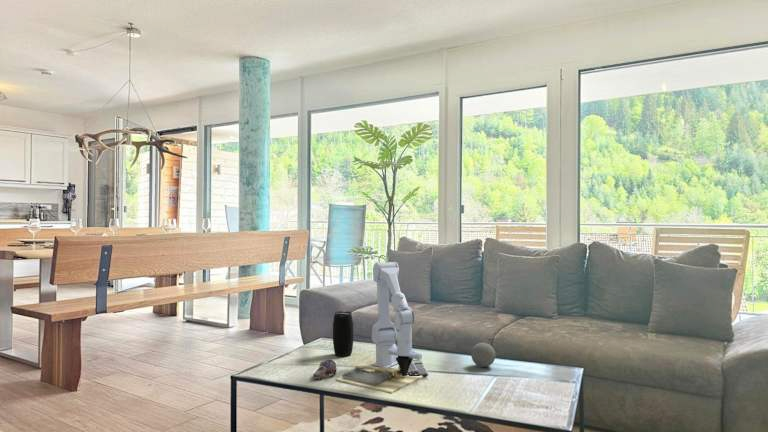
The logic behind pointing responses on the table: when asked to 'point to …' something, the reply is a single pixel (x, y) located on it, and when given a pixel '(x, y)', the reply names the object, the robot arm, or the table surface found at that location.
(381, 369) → the loose leaf
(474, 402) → the table surface
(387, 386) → the board
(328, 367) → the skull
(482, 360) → the decorative ball
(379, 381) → the fixed leaf
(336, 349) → the portable speaker
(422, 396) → the table surface
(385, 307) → the robot arm
